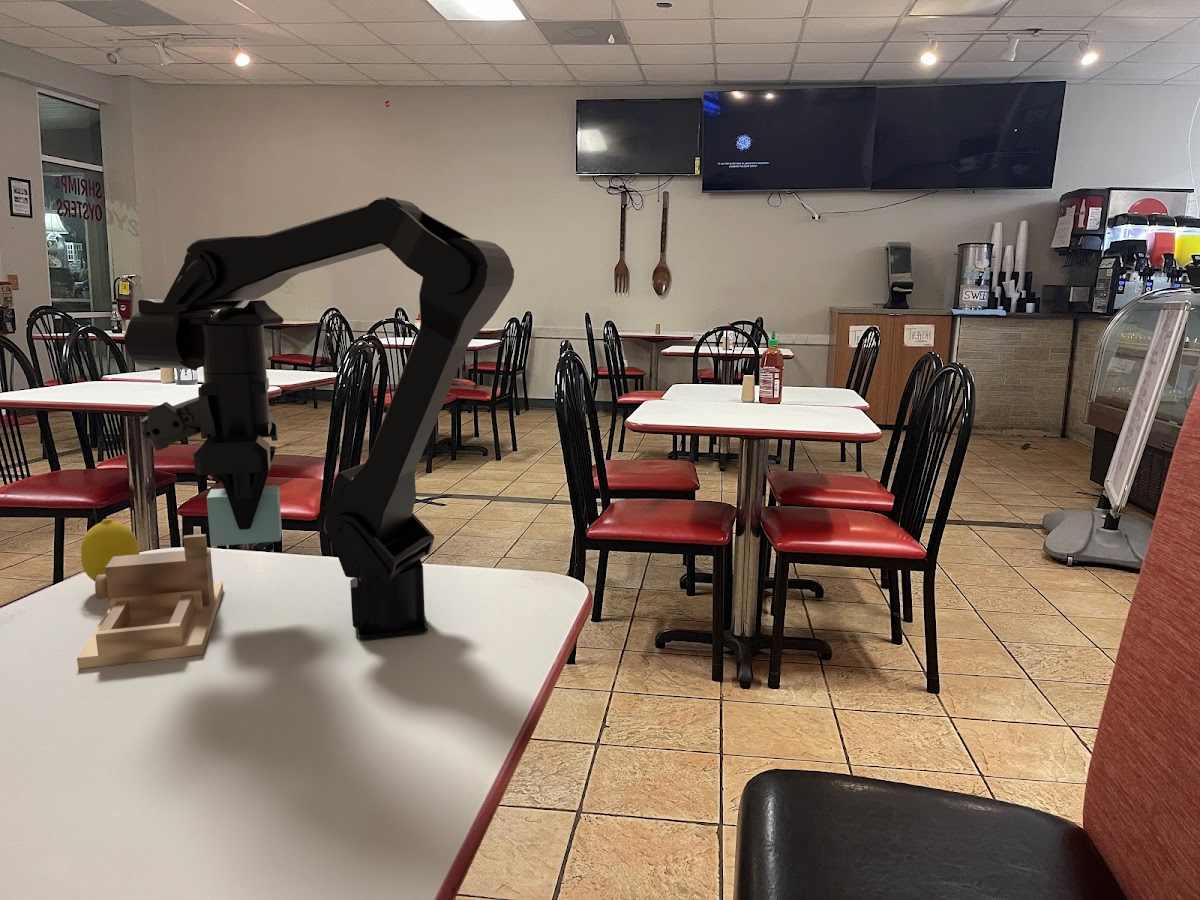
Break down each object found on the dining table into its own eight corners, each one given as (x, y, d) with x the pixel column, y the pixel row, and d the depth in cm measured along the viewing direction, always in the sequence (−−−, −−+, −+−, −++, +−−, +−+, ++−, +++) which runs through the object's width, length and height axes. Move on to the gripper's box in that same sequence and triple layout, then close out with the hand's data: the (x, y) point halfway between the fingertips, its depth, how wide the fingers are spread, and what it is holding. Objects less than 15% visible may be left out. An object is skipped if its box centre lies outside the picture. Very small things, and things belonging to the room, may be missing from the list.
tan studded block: (214, 594, 90) (208, 530, 88) (210, 606, 87) (204, 539, 85) (105, 604, 87) (97, 538, 85) (96, 617, 83) (88, 548, 82)
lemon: (125, 598, 91) (117, 526, 90) (73, 597, 91) (65, 525, 90) (152, 580, 97) (145, 512, 95) (104, 579, 97) (96, 511, 95)
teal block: (214, 536, 88) (211, 489, 87) (281, 531, 90) (278, 485, 89) (210, 546, 85) (206, 497, 84) (280, 541, 86) (277, 493, 86)
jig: (223, 590, 94) (221, 564, 93) (202, 654, 78) (199, 623, 77) (121, 599, 91) (118, 573, 90) (78, 668, 75) (74, 636, 74)
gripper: (161, 363, 90) (174, 506, 93) (122, 384, 73) (139, 559, 76) (274, 361, 93) (282, 499, 97) (262, 381, 76) (273, 548, 79)
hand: (246, 523), depth 87 cm, fingers closed on teal block, 3 cm apart
